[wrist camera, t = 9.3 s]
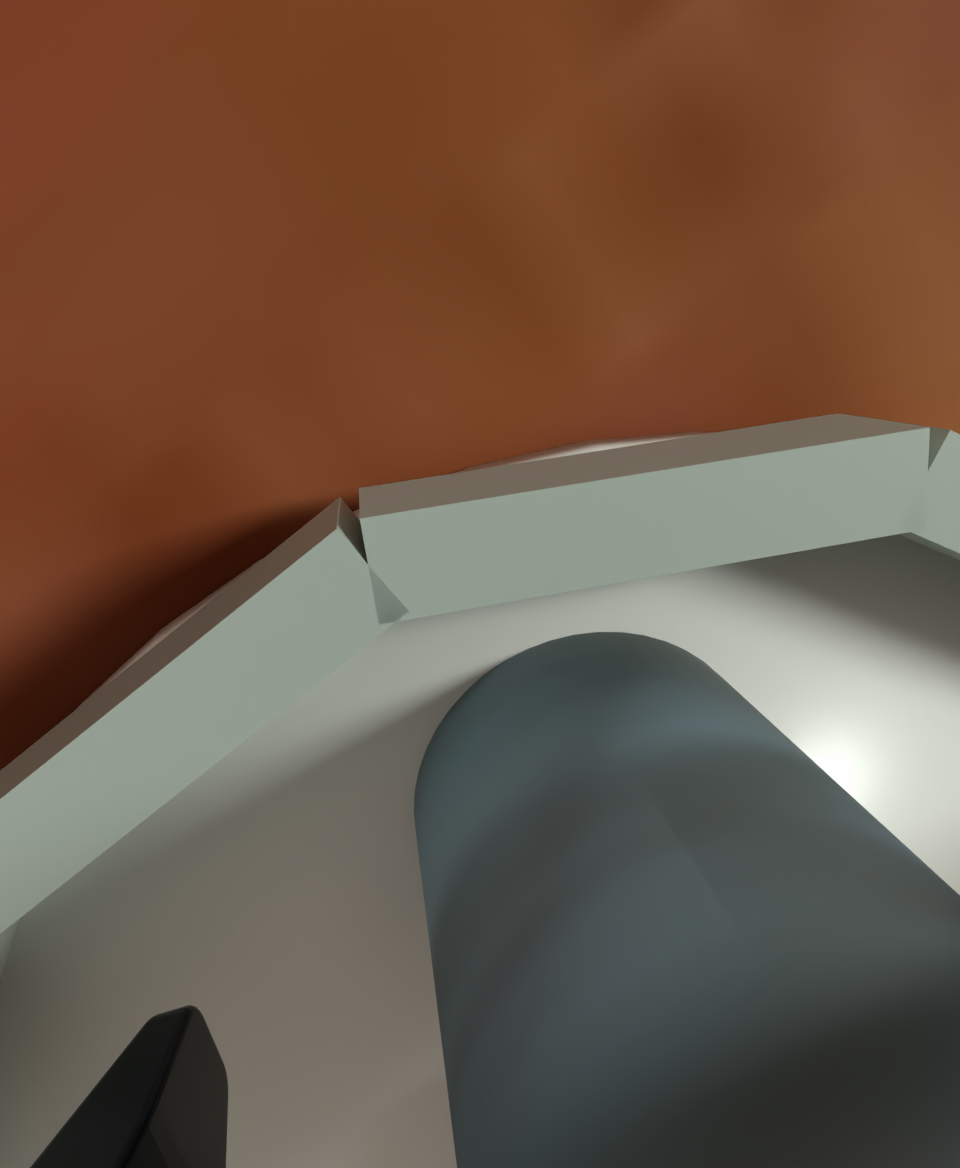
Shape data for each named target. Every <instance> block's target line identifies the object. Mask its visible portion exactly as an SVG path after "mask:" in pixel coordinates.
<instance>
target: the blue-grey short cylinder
mask: <svg viewBox="0 0 960 1168" xmlns="http://www.w3.org/2000/svg"><path fill="white" fill-rule="evenodd" d="M414 819H415V829H416V837H417V845H418V854H419V862H420V870H421V878H422V886H423V894H424V902H425V911H426V919H427V927H428V935H429V943H430V951H431V959H432V968H433V976H434V984H435V992H436V1000H437V1008H438V1017H439V1025H440V1033H441V1041H442V1049H443V1057H444V1065H445V1074H446V1082H447V1090H448V1098H449V1106H450V1114H451V1122H452V1131H453V1139H454V1147H455V1155H456V1163H457V1168H960V895H959V894H958V893H957V892H956V891H955V890H953V889H952V888H951V887H950V886H949V885H948V884H947V883H946V882H945V881H944V880H943V879H941V878H940V877H939V876H938V875H937V874H936V873H935V872H934V871H933V870H932V869H931V868H929V867H928V866H927V865H926V864H925V863H924V862H923V861H922V860H921V859H920V858H918V857H917V856H916V855H915V854H914V853H913V852H912V851H911V850H910V849H909V848H908V847H907V846H905V845H904V844H903V843H902V842H901V841H900V840H899V839H898V838H897V837H896V836H894V835H893V834H892V833H891V832H890V831H889V830H888V829H887V828H886V827H885V826H884V825H882V824H881V823H880V822H879V821H878V820H877V819H876V818H875V817H874V816H873V815H872V814H870V813H869V812H868V811H867V810H866V809H865V808H864V807H863V806H862V805H861V804H860V803H858V802H857V801H856V800H855V799H854V798H853V797H852V796H851V795H850V794H849V793H848V792H846V791H845V790H844V789H843V788H842V787H841V786H840V785H839V784H838V783H837V782H836V781H834V780H833V779H832V778H831V777H830V776H829V775H828V774H827V773H826V772H825V771H824V770H822V769H821V768H820V767H819V766H818V765H817V764H816V763H815V762H814V761H813V760H812V759H810V758H809V757H808V756H807V755H806V754H805V753H804V752H803V751H802V750H801V749H800V748H798V747H797V746H796V745H795V744H794V743H793V742H792V741H791V740H790V739H789V738H788V737H786V736H785V735H784V734H783V733H782V732H781V731H780V730H779V729H778V728H777V727H776V726H774V725H773V724H772V723H771V722H770V721H769V720H768V719H767V718H766V717H765V716H764V715H762V714H761V713H760V712H759V711H758V710H757V709H756V708H755V707H754V706H753V705H752V704H750V703H749V702H748V701H747V700H746V699H745V698H744V697H743V696H742V695H741V694H740V693H738V692H737V691H736V690H735V689H734V688H733V687H732V686H731V685H730V684H729V683H728V682H726V681H725V680H724V679H723V678H722V677H721V676H720V675H719V674H718V673H717V672H715V671H714V670H713V669H712V668H711V667H710V666H708V665H707V664H706V663H705V662H704V661H702V660H701V659H699V658H697V657H696V656H694V655H693V654H691V653H690V652H688V651H686V650H684V649H682V648H680V647H678V646H675V645H673V644H671V643H668V642H666V641H663V640H659V639H656V638H652V637H649V636H645V635H639V634H632V633H625V632H592V633H584V634H576V635H571V636H567V637H562V638H558V639H554V640H550V641H547V642H545V643H542V644H540V645H537V646H534V647H532V648H529V649H526V650H525V651H523V652H521V653H519V654H517V655H515V656H513V657H511V658H509V659H507V660H505V661H504V662H502V663H501V664H499V665H498V666H496V667H495V668H494V669H492V670H491V671H489V672H488V673H486V674H485V675H484V676H482V677H481V678H480V679H479V680H478V681H477V682H476V683H474V684H473V685H472V686H471V687H470V688H469V689H468V690H466V691H465V693H464V694H463V695H462V696H461V697H460V698H459V699H458V700H457V702H456V703H455V704H454V705H453V706H452V707H451V708H450V710H449V711H448V713H447V714H446V715H445V717H444V718H443V720H442V721H441V723H440V724H439V726H438V727H437V729H436V731H435V733H434V735H433V737H432V738H431V740H430V742H429V744H428V746H427V748H426V751H425V754H424V757H423V760H422V763H421V765H420V768H419V772H418V777H417V782H416V787H415V797H414Z"/></svg>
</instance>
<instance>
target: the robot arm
mask: <svg viewBox="0 0 960 1168" xmlns="http://www.w3.org/2000/svg"><path fill="white" fill-rule="evenodd" d="M227 1120H228V1079H227V1073H226V1069H225V1066H224V1063H223V1060H222V1058H221V1056H220V1054H219V1051H218V1049H217V1047H216V1044H215V1042H214V1040H213V1037H212V1035H211V1033H210V1031H209V1028H208V1026H207V1024H206V1021H205V1019H204V1017H203V1015H202V1013H201V1012H200V1010H199V1009H198V1008H197V1007H195V1006H192V1005H187V1006H184V1007H180V1008H177V1009H173V1010H170V1011H166V1012H163V1013H160V1014H157V1015H155V1016H153V1017H151V1018H150V1019H149V1020H148V1021H147V1022H146V1023H145V1024H144V1026H143V1027H142V1028H141V1029H140V1031H139V1032H138V1033H137V1034H136V1036H135V1037H134V1038H133V1039H132V1041H131V1042H130V1043H129V1044H128V1046H127V1047H126V1048H125V1049H124V1051H123V1052H122V1053H121V1054H120V1056H119V1057H118V1058H117V1059H116V1061H115V1062H114V1063H113V1064H112V1066H111V1067H110V1068H109V1069H108V1071H107V1072H106V1073H105V1074H104V1076H103V1077H102V1078H101V1079H100V1081H99V1082H98V1083H97V1084H96V1086H95V1087H94V1088H93V1089H92V1091H91V1092H90V1093H89V1094H88V1096H87V1097H86V1098H85V1099H84V1101H83V1102H82V1103H81V1104H80V1106H79V1107H78V1108H77V1109H76V1111H75V1112H74V1113H73V1114H72V1116H71V1117H70V1118H69V1119H68V1121H67V1122H66V1123H65V1124H64V1126H63V1127H62V1128H61V1129H60V1131H59V1132H58V1133H57V1134H56V1136H55V1137H54V1138H53V1139H52V1141H51V1142H50V1143H49V1144H48V1146H47V1147H46V1148H45V1149H44V1151H43V1152H42V1153H41V1154H40V1156H39V1157H38V1158H37V1159H36V1161H35V1162H34V1163H33V1164H32V1166H31V1167H30V1168H226V1149H227Z"/></svg>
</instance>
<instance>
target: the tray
mask: <svg viewBox="0 0 960 1168" xmlns="http://www.w3.org/2000/svg"><path fill="white" fill-rule="evenodd" d="M592 632H625V633H632V634H639V635H645V636H649V637H652V638H656V639H659V640H663V641H666V642H668V643H671V644H673V645H675V646H678V647H680V648H682V649H684V650H686V651H688V652H690V653H691V654H693V655H694V656H696V657H697V658H699V659H701V660H702V661H704V662H705V663H706V664H707V665H708V666H710V667H711V668H712V669H713V670H714V671H715V672H717V673H718V674H719V675H720V676H721V677H722V678H723V679H724V680H725V681H726V682H728V683H729V684H730V685H731V686H732V687H733V688H734V689H735V690H736V691H737V692H738V693H740V694H741V695H742V696H743V697H744V698H745V699H746V700H747V701H748V702H749V703H750V704H752V705H753V706H754V707H755V708H756V709H757V710H758V711H759V712H760V713H761V714H762V715H764V716H765V717H766V718H767V719H768V720H769V721H770V722H771V723H772V724H773V725H774V726H776V727H777V728H778V729H779V730H780V731H781V732H782V733H783V734H784V735H785V736H786V737H788V738H789V739H790V740H791V741H792V742H793V743H794V744H795V745H796V746H797V747H798V748H800V749H801V750H802V751H803V752H804V753H805V754H806V755H807V756H808V757H809V758H810V759H812V760H813V761H814V762H815V763H816V764H817V765H818V766H819V767H820V768H821V769H822V770H824V771H825V772H826V773H827V774H828V775H829V776H830V777H831V778H832V779H833V780H834V781H836V782H837V783H838V784H839V785H840V786H841V787H842V788H843V789H844V790H845V791H846V792H848V793H849V794H850V795H851V796H852V797H853V798H854V799H855V800H856V801H857V802H858V803H860V804H861V805H862V806H863V807H864V808H865V809H866V810H867V811H868V812H869V813H870V814H872V815H873V816H874V817H875V818H876V819H877V820H878V821H879V822H880V823H881V824H882V825H884V826H885V827H886V828H887V829H888V830H889V831H890V832H891V833H892V834H893V835H894V836H896V837H897V838H898V839H899V840H900V841H901V842H902V843H903V844H904V845H905V846H907V847H908V848H909V849H910V850H911V851H912V852H913V853H914V854H915V855H916V856H917V857H918V858H920V859H921V860H922V861H923V862H924V863H925V864H926V865H927V866H928V867H929V868H931V869H932V870H933V871H934V872H935V873H936V874H937V875H938V876H939V877H940V878H941V879H943V880H944V881H945V882H946V883H947V884H948V885H949V886H950V887H951V888H952V889H953V890H955V891H956V892H957V893H958V894H959V895H960V434H958V433H956V432H953V431H951V430H947V429H940V428H934V427H927V426H920V425H914V424H907V423H900V422H894V421H887V420H880V419H873V418H867V417H860V416H851V415H845V414H832V415H825V416H819V417H812V418H806V419H799V420H793V421H787V422H780V423H774V424H767V425H761V426H755V427H748V428H742V429H735V430H729V431H723V432H700V431H694V432H683V433H671V434H659V435H648V436H636V437H625V438H613V439H601V440H590V441H583V442H578V443H574V444H570V445H565V446H561V447H556V448H552V449H547V450H543V451H538V452H534V453H529V454H525V455H520V456H516V457H511V458H507V459H502V460H498V461H493V462H489V463H485V464H480V465H476V466H472V467H469V468H466V469H464V470H461V471H458V472H456V473H453V474H447V475H441V476H434V477H428V478H422V479H415V480H409V481H402V482H396V483H390V484H383V485H377V486H370V487H364V488H359V509H357V510H355V511H353V512H352V510H351V509H350V508H349V507H348V506H347V505H346V503H345V502H344V501H343V500H342V499H341V498H340V497H339V498H338V499H336V500H335V501H334V502H333V503H331V504H330V505H329V506H328V507H326V508H325V509H324V510H323V511H321V512H320V513H319V514H318V515H316V516H315V517H314V518H313V519H312V520H310V521H309V522H308V523H307V524H305V525H304V526H303V527H302V528H300V529H299V530H298V531H297V532H295V533H294V534H293V535H292V536H290V537H289V538H288V539H287V540H285V541H284V542H283V543H282V544H281V545H279V546H278V547H277V548H276V549H274V550H273V551H272V552H271V553H269V554H268V555H267V556H266V557H264V558H263V559H261V560H259V561H257V562H256V563H254V564H253V565H251V566H250V567H249V568H247V569H246V570H244V571H243V572H241V573H240V574H239V575H237V576H236V577H234V578H233V579H232V580H230V581H229V582H227V583H226V584H224V585H223V586H222V587H220V588H219V589H217V590H216V591H214V592H213V593H212V594H210V595H209V596H207V597H206V598H204V599H203V600H202V601H200V602H199V603H197V604H196V605H194V606H193V607H192V608H190V609H189V610H187V611H186V612H185V613H183V614H182V615H180V616H179V617H177V618H176V619H175V620H173V621H172V622H170V623H169V624H167V625H166V626H165V627H163V628H162V629H161V630H160V631H159V632H158V633H157V634H155V635H154V636H153V637H152V638H151V639H150V640H149V641H148V642H147V643H146V644H145V645H144V646H143V647H141V648H140V649H139V650H138V651H137V652H136V653H135V654H134V655H133V656H132V657H131V658H130V659H129V660H127V661H126V662H125V663H124V664H123V665H122V666H121V667H120V668H119V669H118V670H117V671H116V672H115V673H113V674H112V675H111V676H110V677H109V678H108V679H107V680H106V681H105V682H104V683H103V684H102V685H101V686H99V687H98V688H97V689H96V690H95V691H94V692H93V693H92V694H91V695H90V696H89V697H88V698H87V699H85V700H84V701H83V702H82V703H81V704H80V705H79V707H78V708H77V709H76V710H75V711H74V712H72V713H71V714H70V715H69V716H67V717H66V718H65V719H64V720H62V721H61V722H60V723H59V724H57V725H56V726H55V727H54V728H52V729H51V730H50V731H49V732H48V733H46V734H45V735H44V736H43V737H41V738H40V739H39V740H38V741H36V742H35V743H34V744H33V745H31V746H30V747H29V748H28V749H26V750H25V751H24V752H23V753H22V754H20V755H19V756H18V757H17V758H15V759H14V760H13V761H12V762H10V763H9V764H8V765H7V766H5V767H4V768H3V769H2V770H0V1168H30V1167H31V1166H32V1164H33V1163H34V1162H35V1161H36V1159H37V1158H38V1157H39V1156H40V1154H41V1153H42V1152H43V1151H44V1149H45V1148H46V1147H47V1146H48V1144H49V1143H50V1142H51V1141H52V1139H53V1138H54V1137H55V1136H56V1134H57V1133H58V1132H59V1131H60V1129H61V1128H62V1127H63V1126H64V1124H65V1123H66V1122H67V1121H68V1119H69V1118H70V1117H71V1116H72V1114H73V1113H74V1112H75V1111H76V1109H77V1108H78V1107H79V1106H80V1104H81V1103H82V1102H83V1101H84V1099H85V1098H86V1097H87V1096H88V1094H89V1093H90V1092H91V1091H92V1089H93V1088H94V1087H95V1086H96V1084H97V1083H98V1082H99V1081H100V1079H101V1078H102V1077H103V1076H104V1074H105V1073H106V1072H107V1071H108V1069H109V1068H110V1067H111V1066H112V1064H113V1063H114V1062H115V1061H116V1059H117V1058H118V1057H119V1056H120V1054H121V1053H122V1052H123V1051H124V1049H125V1048H126V1047H127V1046H128V1044H129V1043H130V1042H131V1041H132V1039H133V1038H134V1037H135V1036H136V1034H137V1033H138V1032H139V1031H140V1029H141V1028H142V1027H143V1026H144V1024H145V1023H146V1022H147V1021H148V1020H149V1019H150V1018H151V1017H153V1016H155V1015H157V1014H160V1013H163V1012H166V1011H170V1010H173V1009H177V1008H180V1007H184V1006H187V1005H192V1006H195V1007H197V1008H198V1009H199V1010H200V1012H201V1013H202V1015H203V1017H204V1019H205V1021H206V1024H207V1026H208V1028H209V1031H210V1033H211V1035H212V1037H213V1040H214V1042H215V1044H216V1047H217V1049H218V1051H219V1054H220V1056H221V1058H222V1060H223V1063H224V1066H225V1069H226V1073H227V1079H228V1120H227V1149H226V1168H457V1163H456V1155H455V1147H454V1139H453V1131H452V1122H451V1114H450V1106H449V1098H448V1090H447V1082H446V1074H445V1065H444V1057H443V1049H442V1041H441V1033H440V1025H439V1017H438V1008H437V1000H436V992H435V984H434V976H433V968H432V959H431V951H430V943H429V935H428V927H427V919H426V911H425V902H424V894H423V886H422V878H421V870H420V862H419V854H418V845H417V837H416V829H415V819H414V797H415V787H416V782H417V777H418V772H419V768H420V765H421V763H422V760H423V757H424V754H425V751H426V748H427V746H428V744H429V742H430V740H431V738H432V737H433V735H434V733H435V731H436V729H437V727H438V726H439V724H440V723H441V721H442V720H443V718H444V717H445V715H446V714H447V713H448V711H449V710H450V708H451V707H452V706H453V705H454V704H455V703H456V702H457V700H458V699H459V698H460V697H461V696H462V695H463V694H464V693H465V691H466V690H468V689H469V688H470V687H471V686H472V685H473V684H474V683H476V682H477V681H478V680H479V679H480V678H481V677H482V676H484V675H485V674H486V673H488V672H489V671H491V670H492V669H494V668H495V667H496V666H498V665H499V664H501V663H502V662H504V661H505V660H507V659H509V658H511V657H513V656H515V655H517V654H519V653H521V652H523V651H525V650H526V649H529V648H532V647H534V646H537V645H540V644H542V643H545V642H547V641H550V640H554V639H558V638H562V637H567V636H571V635H576V634H584V633H592Z"/></svg>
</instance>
